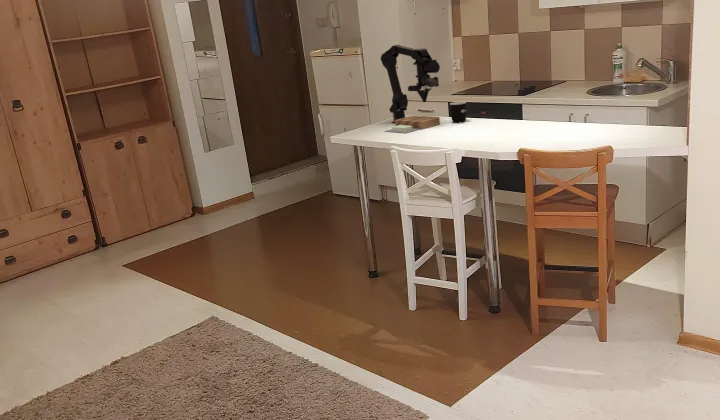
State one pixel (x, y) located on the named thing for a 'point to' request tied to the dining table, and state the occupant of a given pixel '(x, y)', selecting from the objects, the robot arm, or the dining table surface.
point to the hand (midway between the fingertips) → (424, 102)
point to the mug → (458, 111)
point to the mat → (403, 132)
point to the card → (402, 128)
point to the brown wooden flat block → (418, 121)
